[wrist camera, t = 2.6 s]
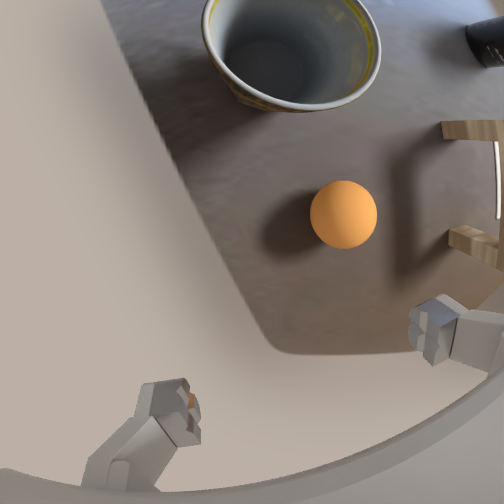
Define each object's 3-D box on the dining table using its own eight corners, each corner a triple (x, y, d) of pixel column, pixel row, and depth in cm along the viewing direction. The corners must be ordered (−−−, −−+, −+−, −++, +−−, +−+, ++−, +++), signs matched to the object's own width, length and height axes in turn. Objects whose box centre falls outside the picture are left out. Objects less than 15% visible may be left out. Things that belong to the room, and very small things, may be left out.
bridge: (448, 245, 28) (503, 272, 20) (440, 121, 24) (504, 120, 15) (463, 239, 28) (516, 264, 20) (456, 121, 24) (517, 122, 15)
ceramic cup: (339, 105, 22) (408, 83, 13) (238, 150, 22) (258, 142, 13) (272, -8, 18) (302, -70, 8) (169, 28, 18) (151, -35, 8)
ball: (296, 183, 24) (320, 191, 19) (353, 173, 24) (386, 179, 19) (306, 244, 26) (329, 266, 20) (359, 231, 26) (391, 248, 21)
